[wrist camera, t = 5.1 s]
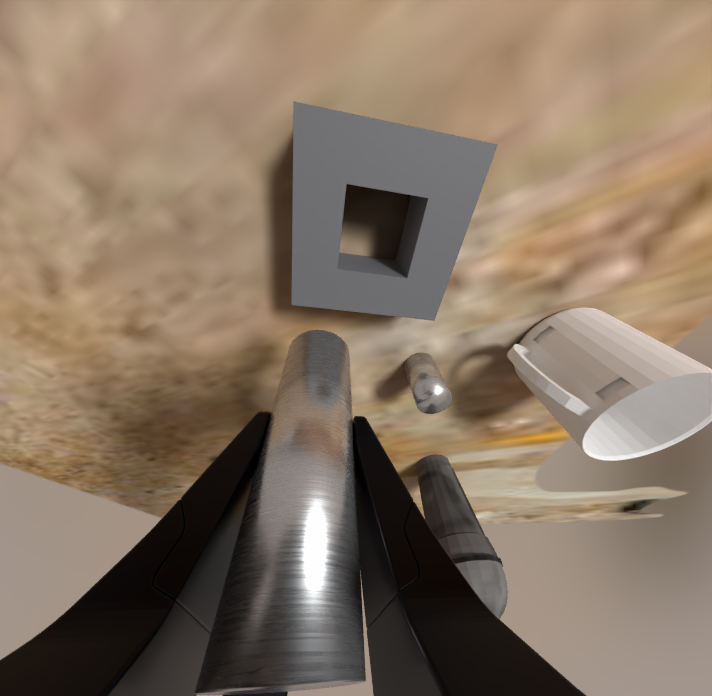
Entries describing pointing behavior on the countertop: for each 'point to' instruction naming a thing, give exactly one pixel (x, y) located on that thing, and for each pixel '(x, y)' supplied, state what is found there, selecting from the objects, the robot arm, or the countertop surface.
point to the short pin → (427, 384)
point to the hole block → (389, 173)
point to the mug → (613, 384)
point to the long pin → (296, 543)
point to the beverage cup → (461, 531)
